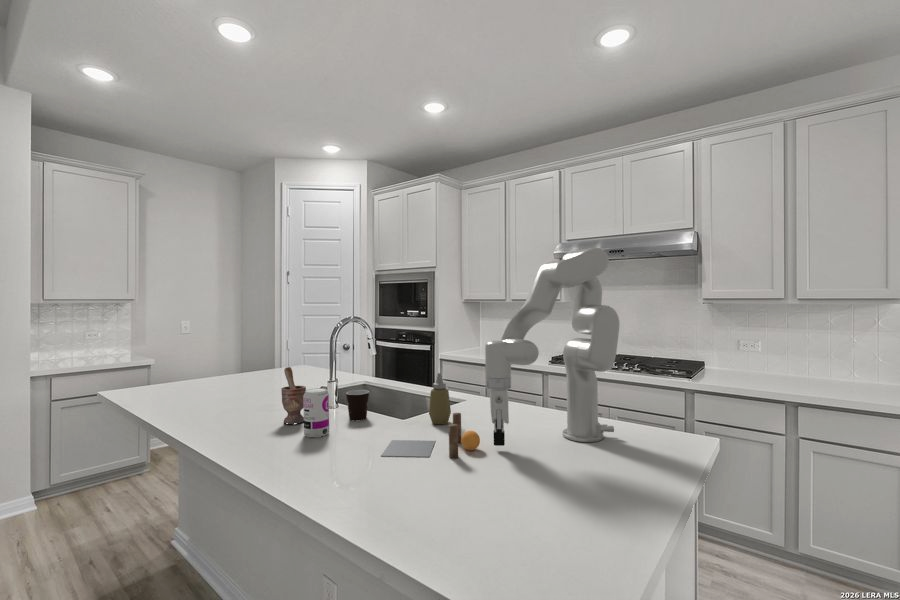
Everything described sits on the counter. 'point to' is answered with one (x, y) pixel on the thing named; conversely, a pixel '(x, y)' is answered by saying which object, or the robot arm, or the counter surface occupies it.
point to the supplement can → (316, 412)
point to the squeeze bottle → (439, 402)
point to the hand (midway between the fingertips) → (499, 444)
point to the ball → (470, 440)
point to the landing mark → (409, 448)
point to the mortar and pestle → (292, 399)
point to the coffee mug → (357, 404)
